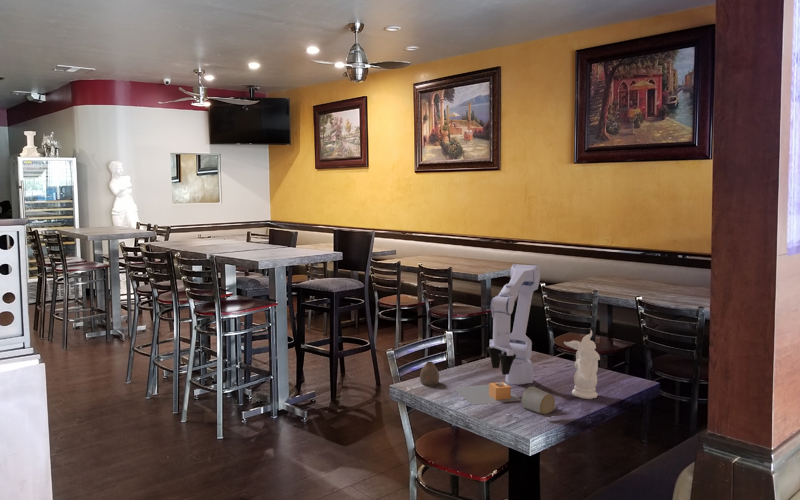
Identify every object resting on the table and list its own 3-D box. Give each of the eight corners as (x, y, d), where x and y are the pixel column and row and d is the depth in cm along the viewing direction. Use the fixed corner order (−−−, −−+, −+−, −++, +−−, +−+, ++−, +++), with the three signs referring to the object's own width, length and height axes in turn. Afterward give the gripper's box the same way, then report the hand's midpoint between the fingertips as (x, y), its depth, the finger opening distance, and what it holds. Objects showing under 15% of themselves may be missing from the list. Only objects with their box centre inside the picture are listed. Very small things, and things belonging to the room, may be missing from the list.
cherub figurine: (592, 402, 207) (595, 338, 204) (556, 395, 214) (558, 333, 211) (602, 391, 217) (604, 330, 215) (567, 385, 224) (569, 326, 221)
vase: (437, 390, 218) (438, 365, 217) (418, 388, 219) (418, 364, 218) (440, 384, 224) (440, 360, 224) (421, 382, 226) (421, 359, 225)
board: (499, 386, 222) (499, 383, 222) (522, 403, 205) (522, 400, 204) (452, 390, 217) (452, 387, 217) (472, 408, 199) (472, 404, 199)
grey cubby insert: (499, 395, 209) (500, 382, 208) (502, 397, 207) (503, 384, 206) (496, 395, 208) (496, 382, 208) (499, 397, 206) (499, 384, 206)
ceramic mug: (541, 419, 191) (542, 394, 190) (520, 411, 197) (521, 388, 196) (562, 412, 197) (563, 389, 197) (542, 405, 204) (543, 382, 203)
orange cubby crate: (488, 394, 209) (489, 382, 209) (503, 393, 211) (503, 381, 210) (495, 399, 204) (495, 387, 204) (510, 398, 206) (510, 386, 205)
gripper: (481, 327, 214) (480, 365, 215) (500, 337, 200) (499, 378, 202) (500, 326, 216) (499, 364, 218) (519, 336, 202) (518, 376, 204)
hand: (500, 371), depth 210 cm, fingers open, 7 cm apart
